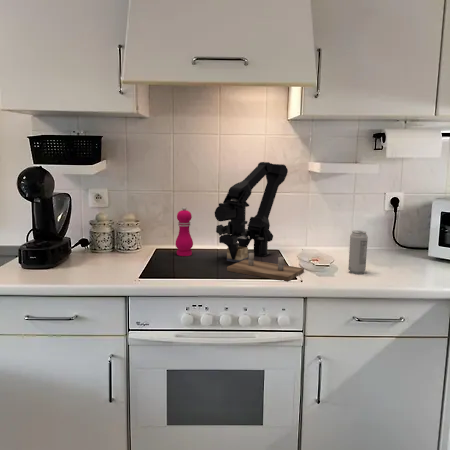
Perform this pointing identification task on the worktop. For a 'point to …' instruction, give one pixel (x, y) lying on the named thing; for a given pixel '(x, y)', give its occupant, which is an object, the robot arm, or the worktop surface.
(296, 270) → the pin board
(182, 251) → the pepper mill
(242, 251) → the sleeve
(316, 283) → the worktop surface
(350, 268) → the energy drink can
